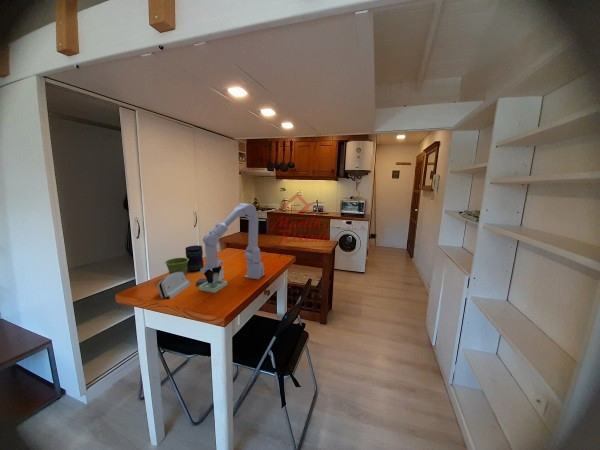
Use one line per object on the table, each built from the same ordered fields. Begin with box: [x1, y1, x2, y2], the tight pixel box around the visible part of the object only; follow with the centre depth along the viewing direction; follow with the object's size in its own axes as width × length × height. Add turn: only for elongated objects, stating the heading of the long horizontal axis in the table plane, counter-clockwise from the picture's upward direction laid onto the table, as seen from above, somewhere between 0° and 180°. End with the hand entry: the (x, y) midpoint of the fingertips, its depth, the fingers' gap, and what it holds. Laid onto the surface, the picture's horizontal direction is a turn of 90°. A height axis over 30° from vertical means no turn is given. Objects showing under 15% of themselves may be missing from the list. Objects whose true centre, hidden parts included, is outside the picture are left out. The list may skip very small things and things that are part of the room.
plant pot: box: [164, 257, 189, 278], centre depth 127 cm, size 12×12×11 cm
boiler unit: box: [210, 266, 225, 281], centre depth 128 cm, size 8×6×7 cm
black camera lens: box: [184, 245, 205, 274], centre depth 142 cm, size 10×10×15 cm
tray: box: [198, 279, 228, 294], centre depth 118 cm, size 10×10×2 cm
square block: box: [195, 277, 207, 287], centre depth 122 cm, size 5×5×2 cm
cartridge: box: [207, 272, 219, 287], centre depth 118 cm, size 4×4×6 cm
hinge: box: [156, 272, 192, 300], centre depth 114 cm, size 17×5×10 cm, turn 173°
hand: (213, 281), depth 118 cm, fingers closed on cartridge, 4 cm apart
